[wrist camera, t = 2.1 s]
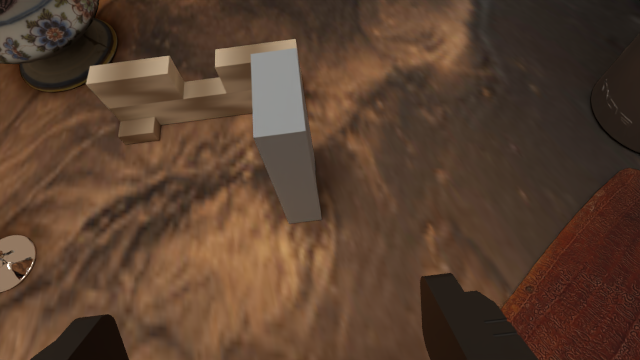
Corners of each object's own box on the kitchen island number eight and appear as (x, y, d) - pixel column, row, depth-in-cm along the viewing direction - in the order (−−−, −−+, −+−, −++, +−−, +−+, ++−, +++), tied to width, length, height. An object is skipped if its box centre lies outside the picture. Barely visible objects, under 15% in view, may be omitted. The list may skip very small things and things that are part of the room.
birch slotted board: (302, 76, 35) (293, 24, 30) (307, 120, 33) (299, 72, 27) (132, 99, 35) (93, 51, 30) (125, 144, 33) (82, 101, 28)
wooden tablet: (616, 165, 30) (630, 154, 28) (756, 255, 26) (781, 248, 25) (381, 435, 23) (384, 440, 21) (527, 612, 19) (542, 632, 18)
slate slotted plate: (314, 158, 31) (296, 48, 20) (321, 219, 29) (305, 130, 18) (284, 162, 31) (250, 54, 20) (289, 223, 29) (253, 137, 18)
